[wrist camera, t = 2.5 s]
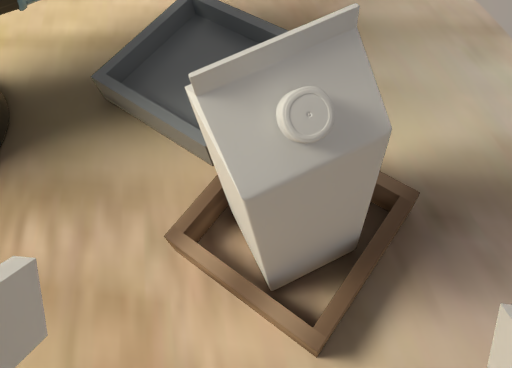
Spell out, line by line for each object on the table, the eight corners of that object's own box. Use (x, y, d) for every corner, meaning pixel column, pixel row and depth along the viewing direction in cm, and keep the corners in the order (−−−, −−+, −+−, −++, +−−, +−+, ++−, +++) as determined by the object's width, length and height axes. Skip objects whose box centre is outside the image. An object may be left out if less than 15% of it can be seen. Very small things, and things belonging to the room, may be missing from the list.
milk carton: (232, 213, 33) (158, 18, 17) (310, 176, 34) (313, -44, 18) (271, 292, 30) (226, 147, 14) (357, 249, 31) (414, 62, 14)
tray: (104, 98, 41) (90, 76, 38) (197, 12, 45) (190, -12, 43) (212, 165, 36) (204, 146, 33) (304, 62, 40) (304, 37, 38)
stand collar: (175, 250, 32) (163, 236, 30) (273, 134, 37) (270, 113, 34) (316, 357, 28) (317, 352, 25) (410, 210, 32) (419, 192, 29)
